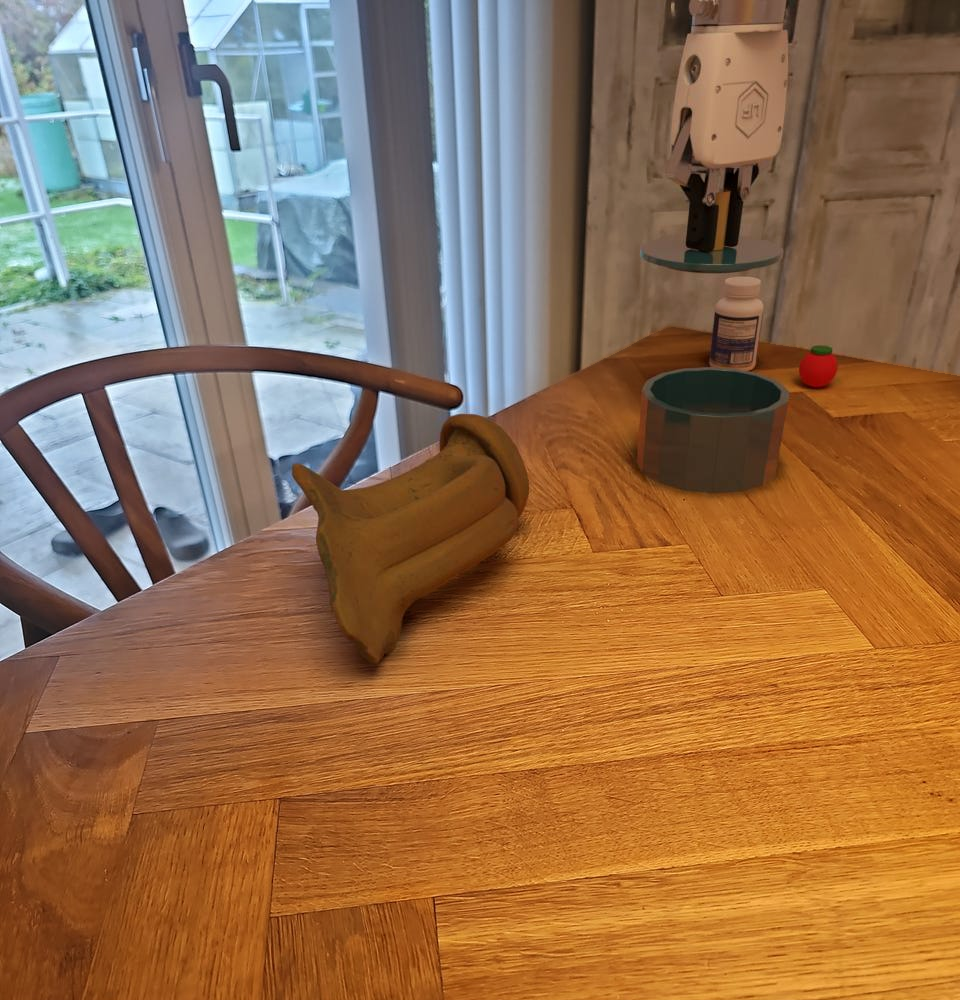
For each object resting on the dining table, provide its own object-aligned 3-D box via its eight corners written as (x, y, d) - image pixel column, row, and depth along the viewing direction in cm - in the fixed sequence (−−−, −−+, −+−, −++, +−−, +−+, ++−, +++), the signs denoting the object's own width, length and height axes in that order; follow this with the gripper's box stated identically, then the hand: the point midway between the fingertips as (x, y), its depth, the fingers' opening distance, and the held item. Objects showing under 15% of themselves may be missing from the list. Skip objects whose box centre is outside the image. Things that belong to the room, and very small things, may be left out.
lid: (755, 244, 91) (764, 176, 87) (802, 274, 80) (815, 199, 76) (626, 249, 90) (631, 182, 87) (657, 281, 79) (663, 206, 76)
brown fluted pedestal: (189, 492, 63) (428, 373, 72) (270, 642, 69) (482, 515, 78) (282, 507, 48) (569, 354, 57) (375, 698, 54) (625, 531, 62)
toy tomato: (825, 379, 100) (832, 341, 97) (839, 391, 97) (847, 352, 94) (790, 381, 100) (797, 343, 97) (803, 393, 96) (810, 354, 94)
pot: (750, 439, 86) (761, 363, 82) (795, 494, 76) (811, 411, 72) (625, 447, 86) (630, 371, 82) (654, 503, 76) (661, 420, 72)
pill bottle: (719, 356, 107) (730, 272, 102) (762, 363, 105) (775, 277, 99) (701, 369, 104) (710, 282, 98) (744, 376, 101) (757, 288, 96)
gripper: (702, 13, 67) (677, 267, 78) (838, 7, 74) (798, 241, 85) (635, 15, 73) (621, 253, 83) (769, 10, 80) (740, 230, 90)
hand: (711, 245), depth 84 cm, fingers closed on lid, 2 cm apart
